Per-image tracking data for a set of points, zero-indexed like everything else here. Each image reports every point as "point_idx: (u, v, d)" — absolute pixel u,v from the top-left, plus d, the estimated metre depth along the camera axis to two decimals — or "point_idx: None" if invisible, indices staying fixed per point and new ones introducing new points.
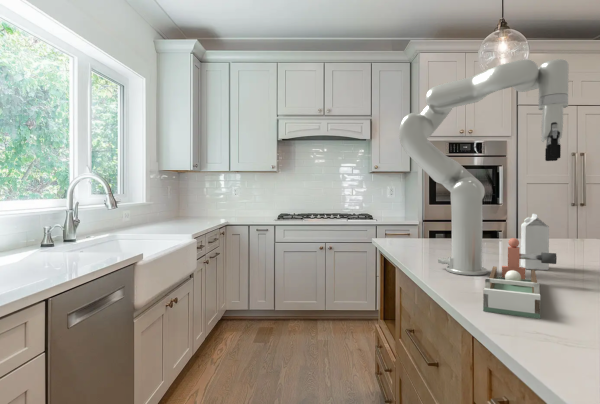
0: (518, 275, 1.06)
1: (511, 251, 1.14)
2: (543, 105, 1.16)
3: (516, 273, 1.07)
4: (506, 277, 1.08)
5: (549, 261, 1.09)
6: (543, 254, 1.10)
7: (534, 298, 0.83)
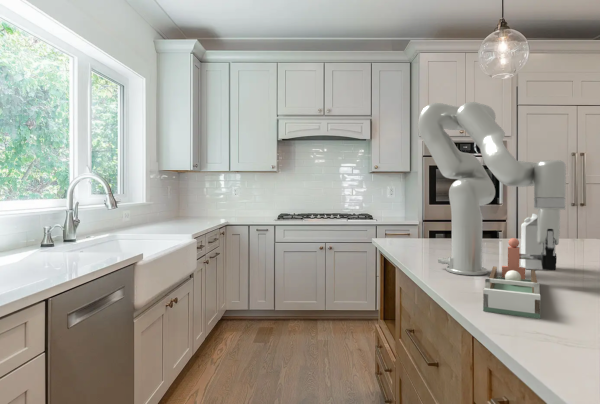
0: (518, 275, 1.06)
1: (511, 251, 1.14)
2: (539, 207, 1.09)
3: (516, 273, 1.07)
4: (506, 277, 1.08)
5: None
6: (543, 254, 1.10)
7: (534, 298, 0.83)
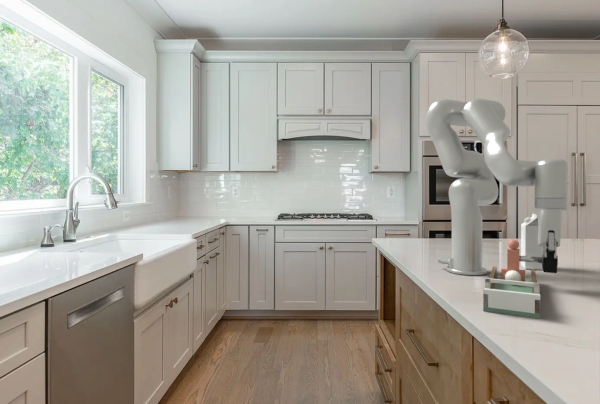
0: (518, 275, 1.06)
1: (511, 253, 1.10)
2: (539, 208, 1.05)
3: (516, 273, 1.07)
4: (506, 277, 1.08)
5: None
6: None
7: (534, 298, 0.83)
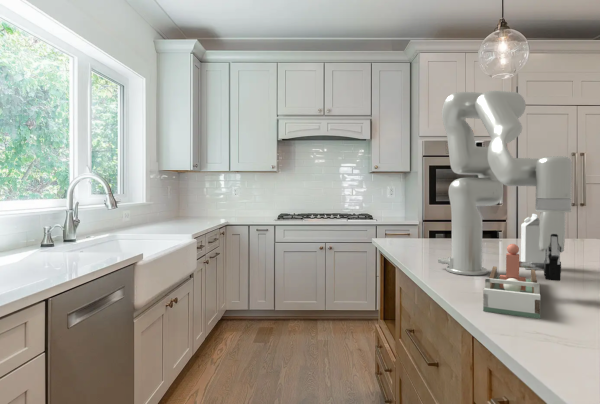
0: None
1: (510, 259, 1.01)
2: (541, 210, 0.96)
3: (516, 279, 0.98)
4: None
5: None
6: (546, 262, 0.97)
7: (534, 298, 0.83)
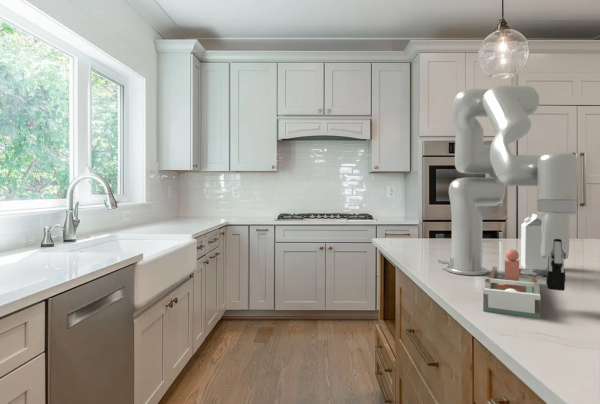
0: (517, 291, 0.88)
1: (509, 266, 0.92)
2: (543, 212, 0.87)
3: None
4: None
5: None
6: None
7: (534, 298, 0.83)
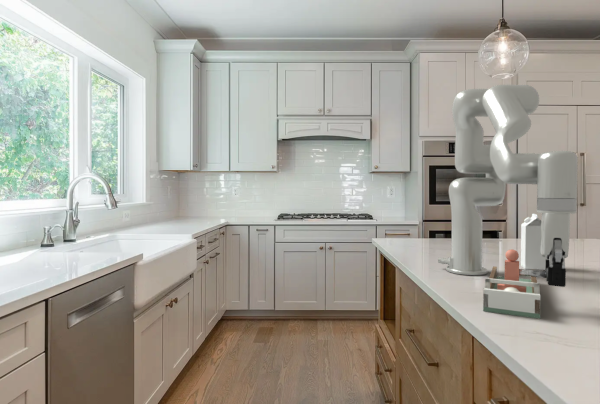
0: None
1: (509, 266, 0.92)
2: (543, 210, 0.87)
3: None
4: None
5: None
6: None
7: (534, 298, 0.83)
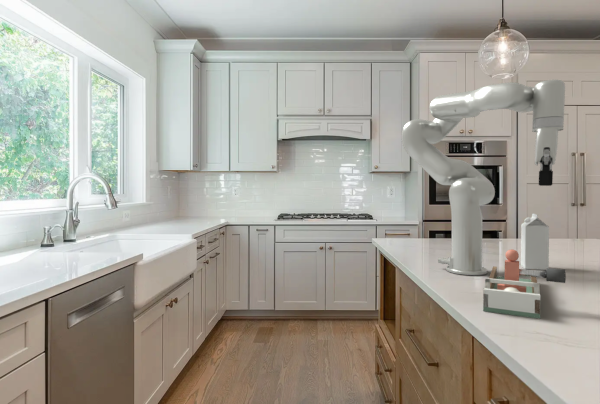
0: None
1: (509, 266, 0.92)
2: (536, 128, 1.09)
3: None
4: None
5: (556, 279, 0.87)
6: (549, 270, 0.88)
7: (534, 298, 0.83)
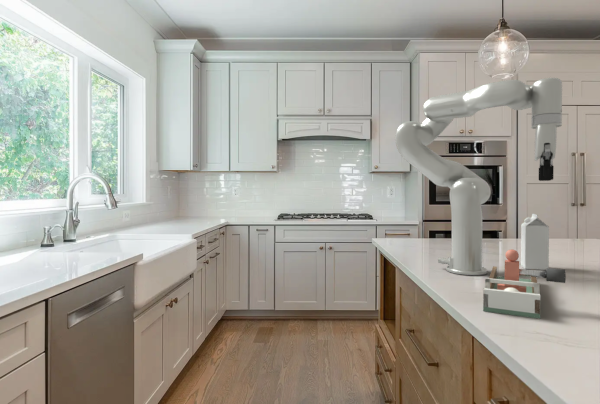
0: None
1: (509, 266, 0.92)
2: (536, 124, 1.13)
3: None
4: None
5: (556, 279, 0.87)
6: (549, 270, 0.88)
7: (534, 298, 0.83)
